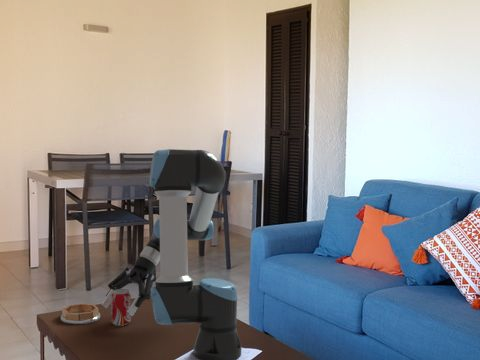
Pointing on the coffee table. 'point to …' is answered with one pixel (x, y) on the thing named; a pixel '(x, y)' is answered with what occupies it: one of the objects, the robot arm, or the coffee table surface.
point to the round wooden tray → (80, 314)
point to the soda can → (120, 307)
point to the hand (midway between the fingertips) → (116, 310)
